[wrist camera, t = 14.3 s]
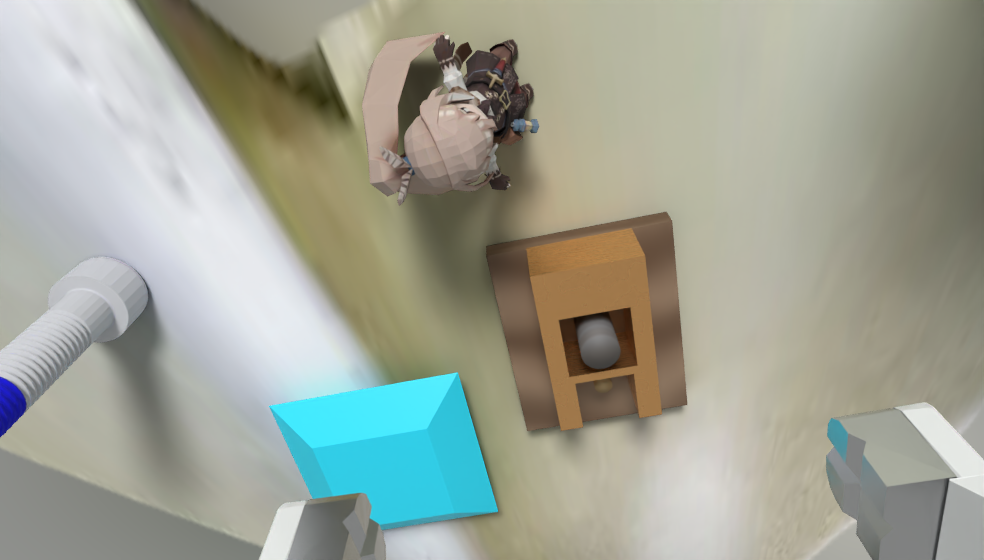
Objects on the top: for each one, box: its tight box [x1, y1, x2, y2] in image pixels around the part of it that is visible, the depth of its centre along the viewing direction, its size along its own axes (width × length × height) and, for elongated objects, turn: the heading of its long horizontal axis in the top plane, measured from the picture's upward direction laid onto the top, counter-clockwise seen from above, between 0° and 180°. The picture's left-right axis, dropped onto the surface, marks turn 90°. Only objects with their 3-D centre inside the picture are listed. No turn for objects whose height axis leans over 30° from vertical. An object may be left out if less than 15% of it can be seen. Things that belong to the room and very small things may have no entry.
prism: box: [269, 372, 498, 530], centre depth 50 cm, size 14×14×5 cm
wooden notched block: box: [526, 228, 662, 431], centre depth 42 cm, size 12×7×4 cm, turn 12°
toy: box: [362, 32, 539, 206], centre depth 33 cm, size 9×8×15 cm
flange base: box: [486, 212, 687, 431], centre depth 43 cm, size 15×12×6 cm
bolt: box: [0, 257, 148, 437], centre depth 38 cm, size 16×5×5 cm
